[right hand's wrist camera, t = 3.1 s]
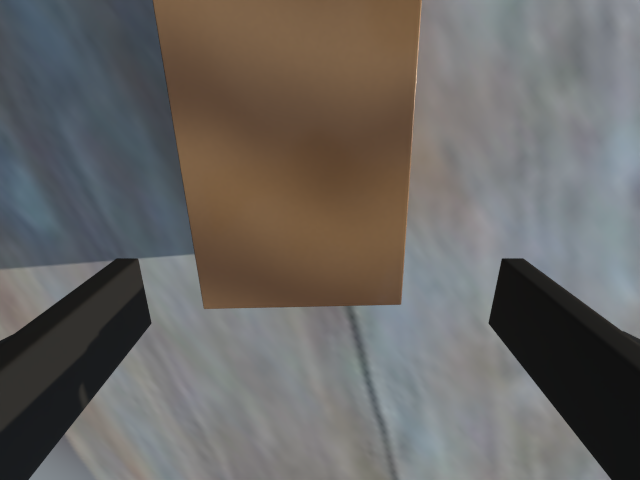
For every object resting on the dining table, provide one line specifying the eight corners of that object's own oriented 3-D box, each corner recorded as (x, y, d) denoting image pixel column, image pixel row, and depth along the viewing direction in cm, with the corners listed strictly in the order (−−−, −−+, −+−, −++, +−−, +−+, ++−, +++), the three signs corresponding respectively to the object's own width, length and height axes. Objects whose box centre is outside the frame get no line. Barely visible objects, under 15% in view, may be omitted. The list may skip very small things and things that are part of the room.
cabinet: (207, -64, 21) (118, -202, 12) (384, -69, 21) (436, -213, 12) (242, 243, 28) (203, 309, 19) (374, 240, 28) (401, 304, 19)
